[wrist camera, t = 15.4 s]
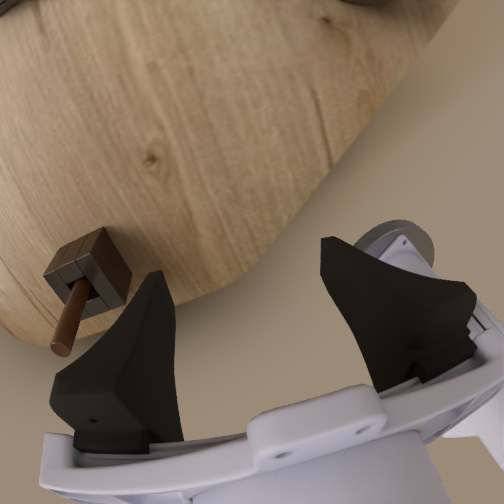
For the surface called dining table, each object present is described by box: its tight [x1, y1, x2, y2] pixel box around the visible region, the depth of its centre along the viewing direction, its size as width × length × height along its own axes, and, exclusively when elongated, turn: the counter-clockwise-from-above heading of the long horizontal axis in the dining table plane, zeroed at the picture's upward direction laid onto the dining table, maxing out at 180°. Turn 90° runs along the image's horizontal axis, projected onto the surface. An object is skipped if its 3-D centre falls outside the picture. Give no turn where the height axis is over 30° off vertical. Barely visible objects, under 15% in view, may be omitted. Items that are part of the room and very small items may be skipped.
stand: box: [43, 227, 132, 321], centre depth 21 cm, size 5×5×4 cm
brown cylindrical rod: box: [50, 276, 92, 357], centre depth 18 cm, size 1×1×10 cm
